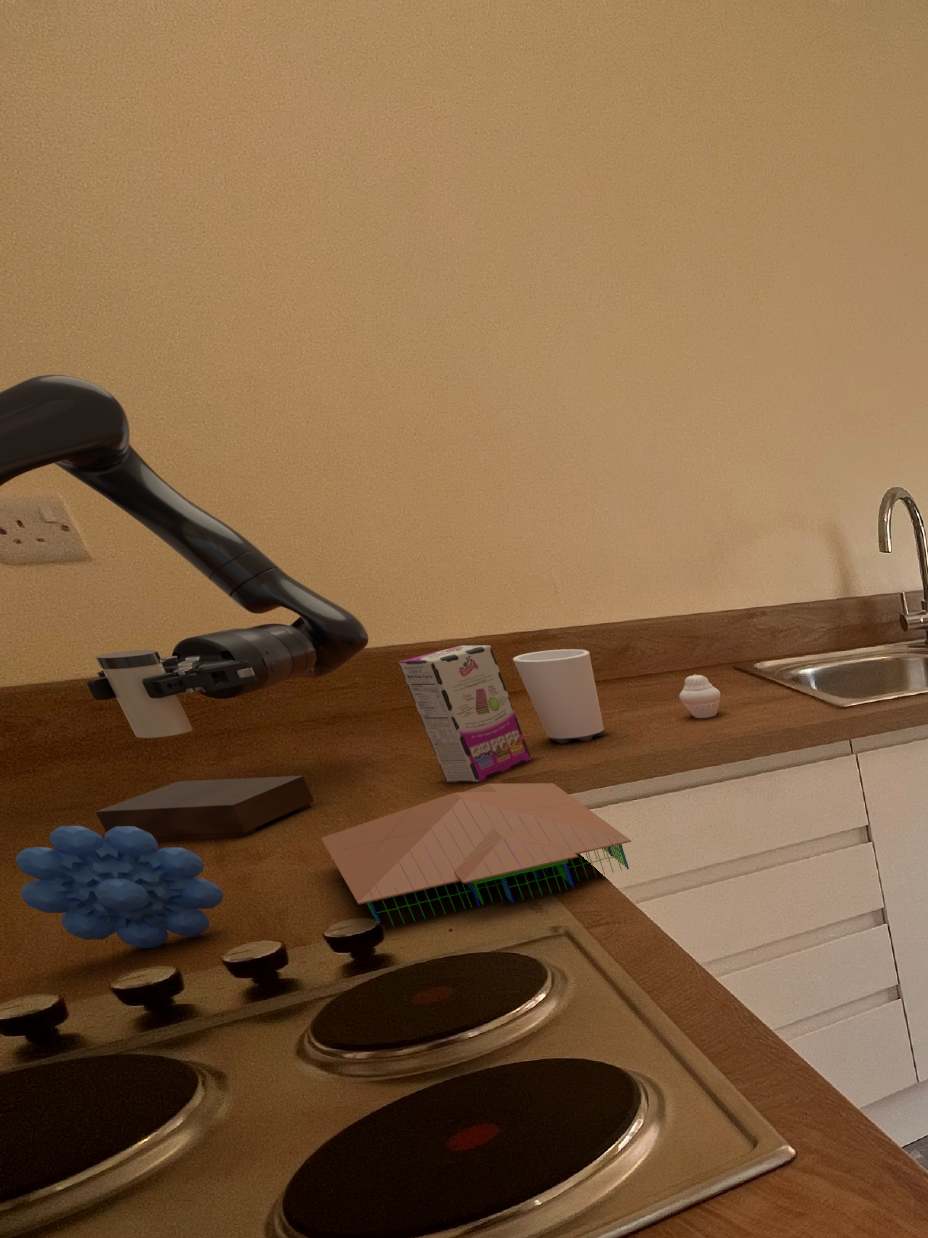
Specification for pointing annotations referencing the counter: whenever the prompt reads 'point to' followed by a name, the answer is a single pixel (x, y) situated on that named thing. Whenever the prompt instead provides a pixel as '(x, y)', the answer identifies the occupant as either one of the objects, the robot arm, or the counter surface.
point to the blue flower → (118, 885)
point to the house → (471, 842)
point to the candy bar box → (466, 712)
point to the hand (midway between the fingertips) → (122, 689)
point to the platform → (209, 807)
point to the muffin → (700, 696)
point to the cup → (562, 693)
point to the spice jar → (143, 694)
